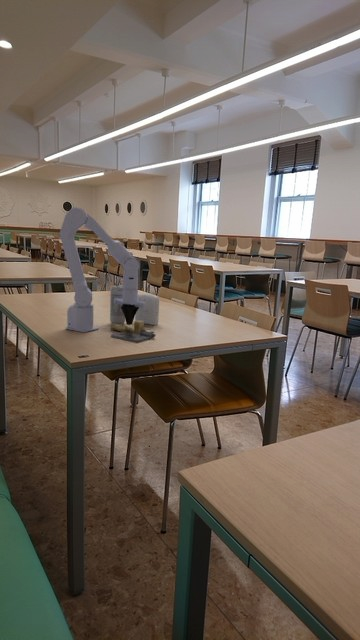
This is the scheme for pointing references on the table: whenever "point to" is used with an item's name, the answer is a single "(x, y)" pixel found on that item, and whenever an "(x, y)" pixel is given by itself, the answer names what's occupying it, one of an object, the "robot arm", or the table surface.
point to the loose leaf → (130, 327)
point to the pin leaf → (135, 336)
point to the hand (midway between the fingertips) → (129, 324)
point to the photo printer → (148, 309)
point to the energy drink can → (116, 306)
